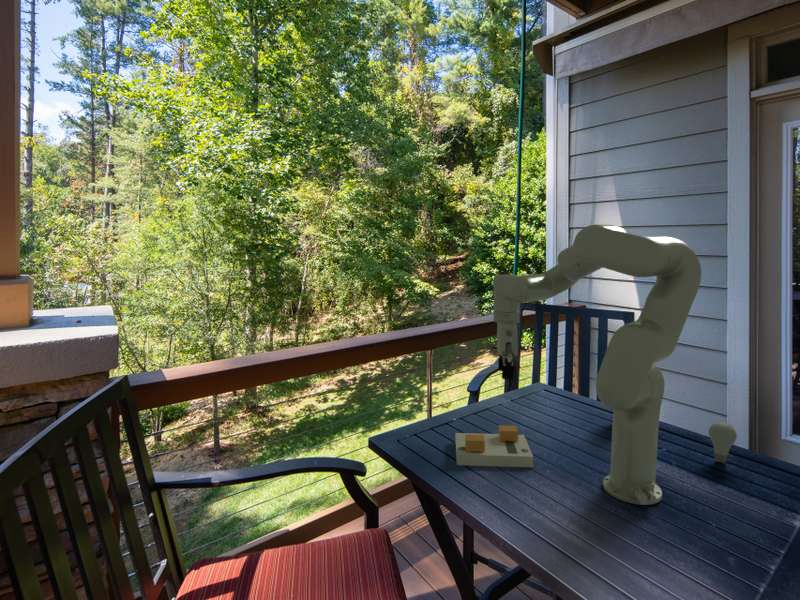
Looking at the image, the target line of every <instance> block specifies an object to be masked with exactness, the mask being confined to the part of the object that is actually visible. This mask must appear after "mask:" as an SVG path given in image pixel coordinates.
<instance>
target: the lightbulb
mask: <svg viewBox="0 0 800 600" xmlns="http://www.w3.org/2000/svg"><path fill="white" fill-rule="evenodd" d="M707 434H708V437H709V438H710V440H711V442H712V445H713V451H714V460H715V461H716V462H717V463H719V462H721V463H720V464H723V463H726V462H727V458H728V455H729V451H730V449H731V447H732V445H734V443H735V442H736V441H737V437H738V436H737V431H736V430H735V428H734V427H733V426H732V425H730V424H728V423H726V422H723V421H722V422H721V421H720V422H719V421H718V422H715V423H713V424H711V425H710V427H709V428H708V433H707Z"/></svg>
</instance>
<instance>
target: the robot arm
mask: <svg viewBox="0 0 800 600" xmlns="http://www.w3.org/2000/svg"><path fill="white" fill-rule="evenodd" d="M602 268H603V269H606V270H610V271H613V272H617V273H619V274H623V275H626V276H629V277H630V276H631V277H635V278H650V277H651V278H652V277H656V278H655V279H656V280H655V282H654V285H653V286H652V288H651V290H650V291H649V292H648V294H647V296H646V299H645V302H644V305H643V308H642V310H641V312H640V315H639V316H638V318H637V320H635V321H631V322H628V323H625V324H623V325H621V326H620V327H619V328H618V329H617V330H615V332H614V334H613V335H612V337H611V338H610V340H609V343H608V345H607V348H606V349H605V352H604V356H603V359H602V362H601V363H600V367H599V370H598V372H597V373H598V374H597V376H596V380H595V381H596V382H595V391H596V392H595V393H596V395H597V397H598V399H599V401H600V402H601V403H602V404H603V406H605V407H606V408H608V409H610V410H613V415H612V423H611V424H612V429H611V448H610V449H611V450H610V452H611V453H610V473H609V474H608V475H606V476H604V478H603V479H602V487H603V488H604V489H603V490H604V491H605V492H606V493H607V494H609V495H610V496H612V497H614V498H615V499H617V500H619V501H623V502H625V503H629V504H633V505H638V506H639V505H640V506H650V505H655V504H657V503H659V502H661V501H662V499H663V491H662V489H661V487H660V486H659V485H658V484H657V483H656V479H657V478H656V474H657V460H658V459H657V457H658V441H659V440H658V439H659V430H660V429H659V428H660V427H659V425H660V414H661V407H662V403H663V398H664V394H665V388H666V387H665V386H666V385H665V378H664V375H663V373H662V371H661V369H660V368H659V367H658V366H657V365H656V364H655V363H658V362H661V361H662V360H664V359H667V358H668V357H670V356H671V355H672V354H673V353H674V351H675V349H676V346H677V344H678V341H679V338H680V337H681V335H682V332H683V328H684V327H685V325H686V321H687V320H688V317H689V313H690V310H692V309H691V308H692V306H693V303H694V302H695V299H696V297H697V294H698V291H699V288H700V286H701V281H702V265H701V262H700V259H699V257H698V255H697V254H696V252H695V251H694V250H693V249H692V248H691V247H690V246H689V245H688V244H687V243H685V241H682V240H681V239H677V238H676V237H671V236H665V235H664V236H663V235H660V236H659V235H658V236H656V235H655V236H645V235H637V234H633V233H628V232H627V231H626V230H625V229H624V228H622V227H620V226H618V225H615V224H591V225H588V226H585V227H583V228H581V230H579V231H578V232H577V234H576V236H575V237H574V239H573V244H571V245H570V246H568V247H566V248H564V249H563V250H561V251H560V252H559V253H558V255H557V264H556V265H555V266H553V267H551V268H550V269H548V270H546V271H544V272H542V273H538V274H535V273H534V274H527V275H517V274H510V273H509V274H498V275H496V276H495V277H494V279H493V322H494V323H497V325H496V328H497V329H496V347H497V351H498V363H497V366H498V368H497V369H498V371H499V372H501V378H502V380H513V379H514V375H515V373H514V357H515V358H516V357H517V356H518V355H519V354H518V353H519V352H518V351H519V350H518V348H519V346H518V328H517V324H518V323H520V322H521V321H520V317H521V316H520V314H521V312H520V311H521V310H520V309H521V304H526V303H532V302H539V301H545V300H549V299H551V298H553V297H555V296H557V295H559V294H561V293H563V292H565V291H567V290H569V289H570V288H572V287H573V286H574V285H575V284H576V283H578V282H579V281H580V280H581V279H583V278H585V277H587V276H589V275H591V274H593V273H595V272H596V271H598V270H600V269H601V270H602Z"/></svg>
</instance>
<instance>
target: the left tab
mask: <svg viewBox="0 0 800 600" xmlns="http://www.w3.org/2000/svg"><path fill="white" fill-rule="evenodd" d="M465 447H466V451H476V452H485V440H484V435H468V434H465Z"/></svg>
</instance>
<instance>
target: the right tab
mask: <svg viewBox="0 0 800 600" xmlns="http://www.w3.org/2000/svg"><path fill="white" fill-rule="evenodd" d="M498 434H499V438H500V441H518V434H519V430H518V427H517V425H509V424H508V425H505V424H504V425H503V424H502V425H501V424H499V425H498Z"/></svg>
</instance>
